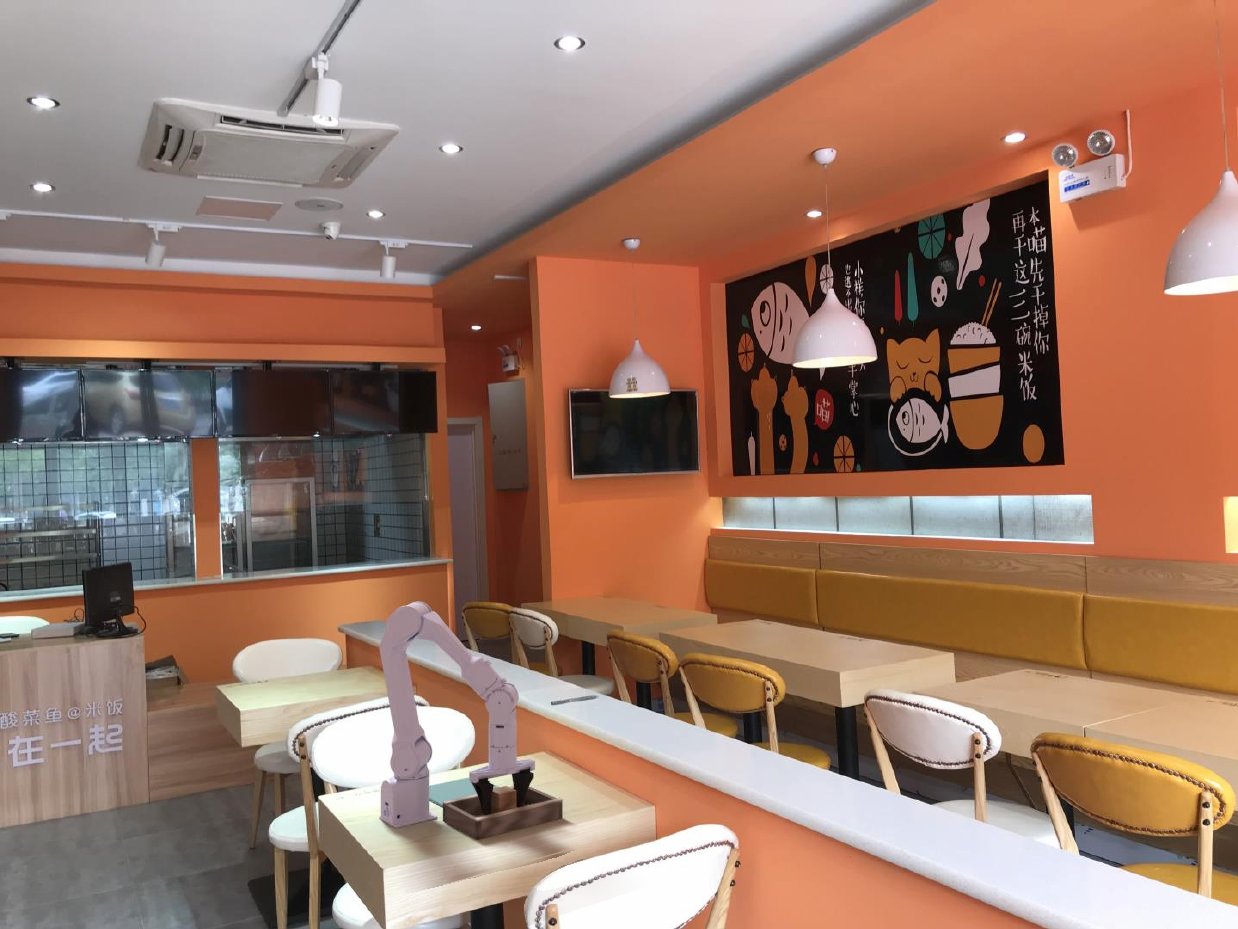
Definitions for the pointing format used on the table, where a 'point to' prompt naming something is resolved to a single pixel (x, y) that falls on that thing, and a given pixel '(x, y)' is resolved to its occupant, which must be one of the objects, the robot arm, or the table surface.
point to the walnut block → (503, 799)
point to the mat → (451, 790)
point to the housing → (501, 814)
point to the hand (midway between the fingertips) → (502, 811)
